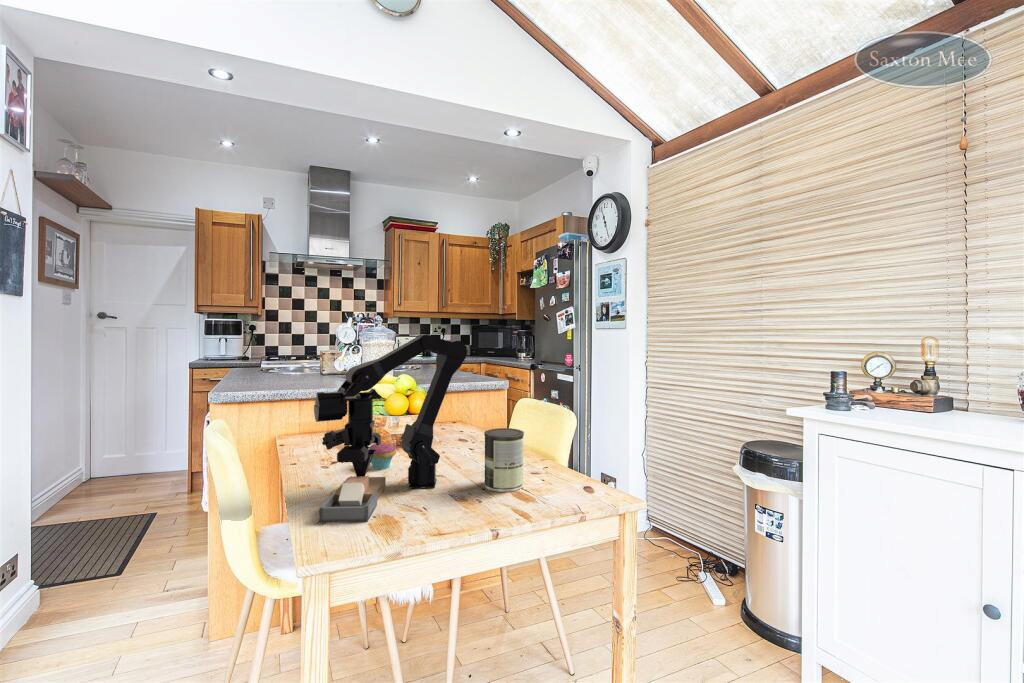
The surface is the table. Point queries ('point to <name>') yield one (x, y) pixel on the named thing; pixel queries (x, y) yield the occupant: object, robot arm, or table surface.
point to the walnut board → (374, 486)
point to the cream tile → (351, 494)
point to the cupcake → (382, 454)
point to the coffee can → (503, 459)
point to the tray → (346, 511)
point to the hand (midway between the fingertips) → (360, 481)
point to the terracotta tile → (359, 480)
